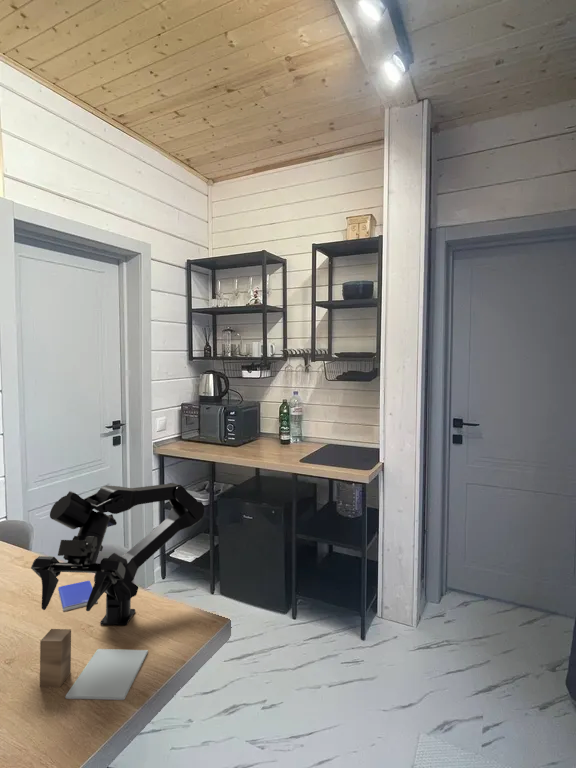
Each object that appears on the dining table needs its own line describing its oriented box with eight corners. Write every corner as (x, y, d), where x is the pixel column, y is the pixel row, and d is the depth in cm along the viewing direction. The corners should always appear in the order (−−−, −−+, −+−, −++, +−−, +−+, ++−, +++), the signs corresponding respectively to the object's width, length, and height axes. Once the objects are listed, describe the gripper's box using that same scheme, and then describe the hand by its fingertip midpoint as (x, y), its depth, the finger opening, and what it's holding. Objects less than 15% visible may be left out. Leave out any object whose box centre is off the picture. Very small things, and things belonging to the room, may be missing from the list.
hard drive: (97, 599, 116) (90, 579, 126) (63, 607, 112) (58, 586, 122) (97, 604, 116) (89, 585, 127) (63, 613, 112) (58, 592, 122)
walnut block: (50, 672, 89) (51, 628, 89) (70, 672, 89) (71, 629, 89) (39, 686, 85) (40, 640, 85) (60, 686, 85) (61, 641, 85)
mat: (97, 651, 96) (97, 648, 96) (147, 652, 96) (147, 650, 96) (65, 698, 82) (65, 695, 82) (124, 699, 82) (124, 697, 82)
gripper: (36, 520, 96) (2, 595, 85) (121, 522, 96) (98, 598, 85) (55, 541, 104) (26, 613, 93) (133, 544, 104) (114, 615, 93)
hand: (65, 610), depth 91 cm, fingers open, 9 cm apart
